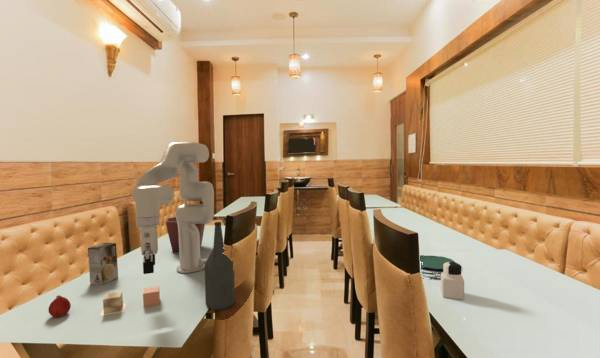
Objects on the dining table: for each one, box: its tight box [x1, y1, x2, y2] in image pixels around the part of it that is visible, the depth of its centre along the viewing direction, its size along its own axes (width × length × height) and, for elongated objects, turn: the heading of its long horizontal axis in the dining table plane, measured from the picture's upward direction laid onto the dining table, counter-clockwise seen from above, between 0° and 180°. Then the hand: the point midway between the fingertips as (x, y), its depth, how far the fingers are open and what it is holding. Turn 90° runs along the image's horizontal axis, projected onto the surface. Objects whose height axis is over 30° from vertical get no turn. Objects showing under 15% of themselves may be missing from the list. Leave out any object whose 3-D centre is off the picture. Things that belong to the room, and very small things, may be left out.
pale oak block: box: [102, 291, 124, 314], centre depth 107 cm, size 5×5×5 cm
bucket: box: [165, 216, 206, 254], centre depth 186 cm, size 24×22×25 cm
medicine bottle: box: [440, 262, 465, 300], centre depth 116 cm, size 7×7×12 cm
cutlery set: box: [419, 254, 457, 280], centre depth 145 cm, size 20×30×2 cm, turn 162°
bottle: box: [203, 221, 236, 311], centre depth 112 cm, size 10×10×30 cm
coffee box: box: [87, 242, 119, 286], centre depth 137 cm, size 9×6×16 cm
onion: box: [48, 294, 72, 318], centre depth 104 cm, size 6×6×8 cm
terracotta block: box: [142, 285, 161, 308], centre depth 112 cm, size 5×5×6 cm
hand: (149, 269), depth 111 cm, fingers open, 9 cm apart
